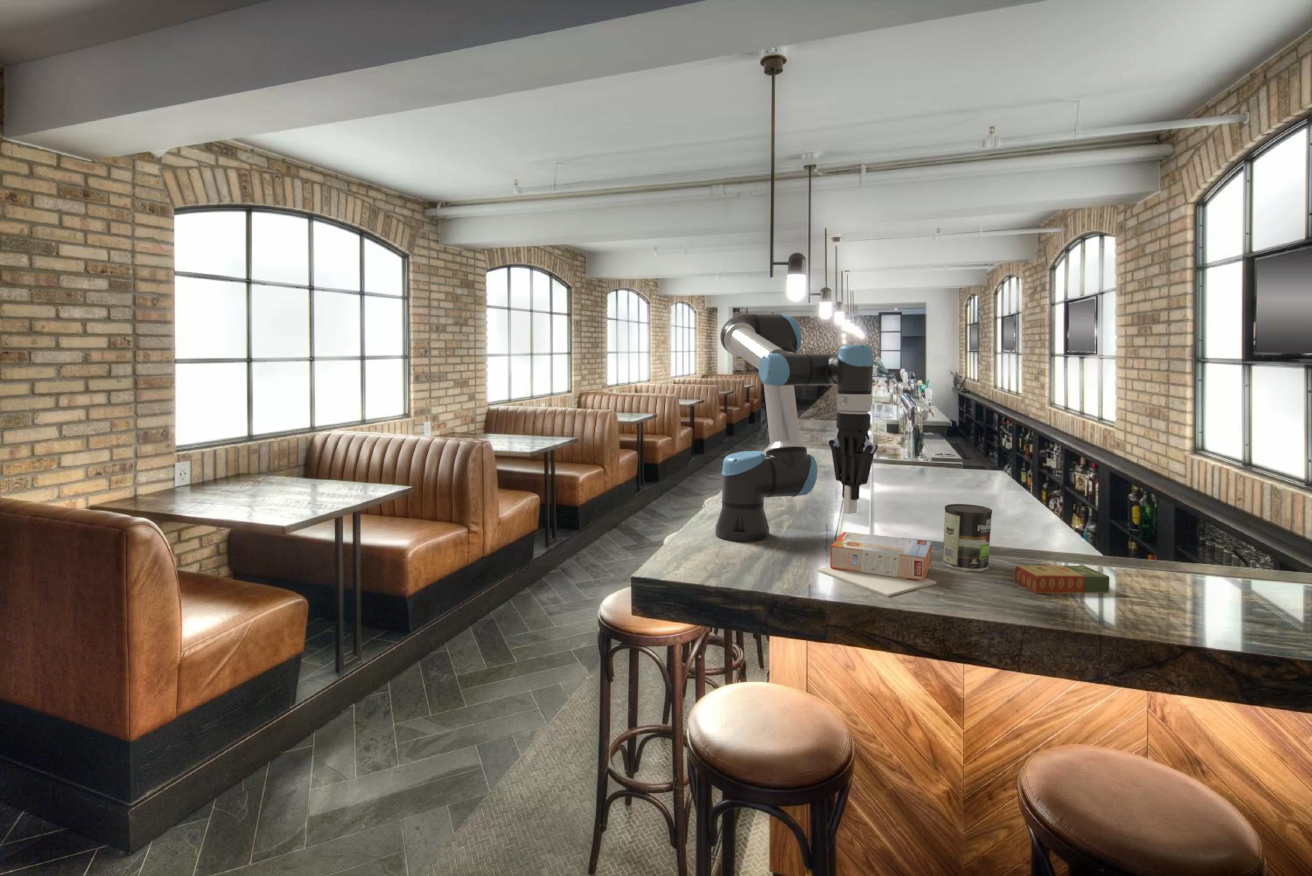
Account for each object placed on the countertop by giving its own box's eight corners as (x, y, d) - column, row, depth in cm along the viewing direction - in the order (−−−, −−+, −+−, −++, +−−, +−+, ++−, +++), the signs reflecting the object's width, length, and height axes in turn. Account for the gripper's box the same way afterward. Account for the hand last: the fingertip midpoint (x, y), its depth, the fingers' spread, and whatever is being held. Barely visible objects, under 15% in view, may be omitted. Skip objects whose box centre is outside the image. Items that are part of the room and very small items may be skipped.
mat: (817, 571, 156) (817, 569, 156) (864, 560, 164) (864, 558, 164) (887, 596, 139) (887, 594, 139) (936, 583, 147) (936, 581, 147)
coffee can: (996, 566, 160) (999, 508, 159) (977, 574, 153) (981, 514, 152) (953, 556, 168) (956, 501, 166) (934, 564, 161) (936, 507, 160)
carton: (1013, 582, 149) (1014, 563, 149) (1083, 582, 150) (1084, 563, 149) (1035, 595, 141) (1037, 575, 140) (1109, 594, 142) (1111, 575, 141)
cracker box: (829, 569, 156) (925, 582, 146) (829, 544, 155) (926, 555, 146) (842, 554, 168) (932, 565, 158) (843, 530, 168) (932, 540, 158)
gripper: (821, 411, 158) (818, 509, 160) (864, 414, 147) (860, 520, 149) (843, 410, 161) (840, 505, 164) (887, 413, 150) (883, 516, 153)
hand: (850, 512), depth 157 cm, fingers closed
